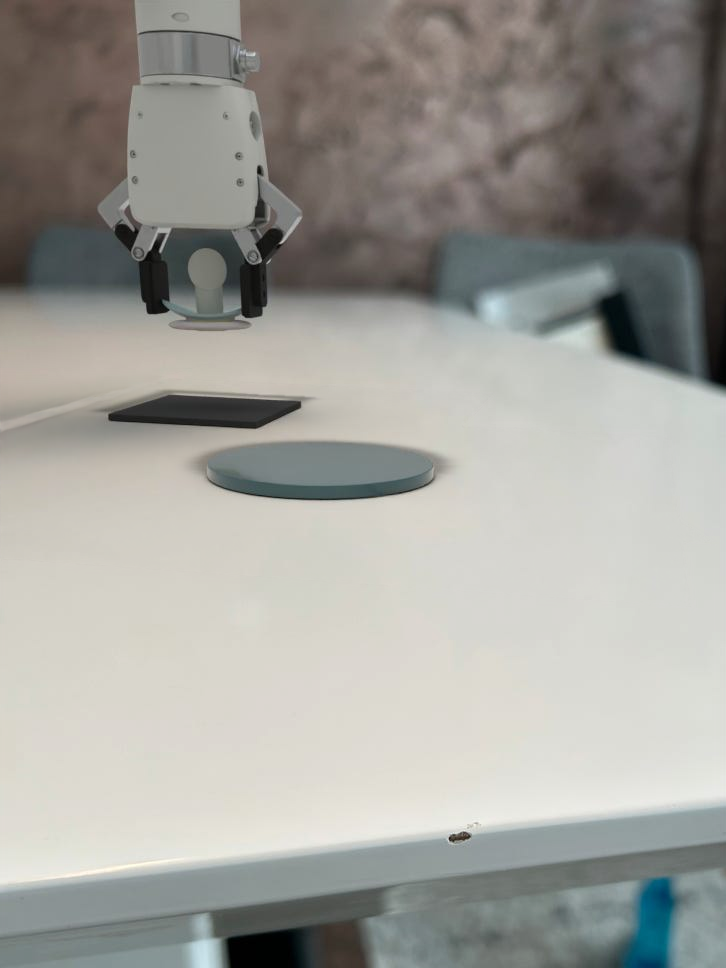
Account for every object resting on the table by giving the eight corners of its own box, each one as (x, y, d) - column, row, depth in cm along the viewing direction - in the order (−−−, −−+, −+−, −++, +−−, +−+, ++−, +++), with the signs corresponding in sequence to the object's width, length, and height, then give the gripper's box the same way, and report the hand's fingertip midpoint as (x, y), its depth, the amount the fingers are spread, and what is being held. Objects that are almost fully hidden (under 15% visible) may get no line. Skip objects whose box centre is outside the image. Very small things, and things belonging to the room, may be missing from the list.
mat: (108, 420, 86) (107, 413, 86) (169, 400, 97) (169, 394, 97) (256, 428, 85) (256, 421, 85) (301, 406, 96) (301, 401, 96)
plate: (170, 490, 64) (169, 477, 63) (251, 449, 77) (250, 437, 76) (409, 505, 62) (409, 491, 62) (450, 460, 75) (450, 448, 75)
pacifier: (257, 335, 87) (256, 327, 92) (253, 251, 85) (252, 247, 90) (161, 335, 86) (165, 326, 91) (154, 250, 83) (159, 246, 89)
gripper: (318, 76, 85) (323, 316, 91) (103, 74, 87) (122, 308, 93) (289, 61, 78) (296, 322, 84) (56, 59, 80) (80, 314, 86)
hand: (205, 313), depth 88 cm, fingers closed on pacifier, 7 cm apart
